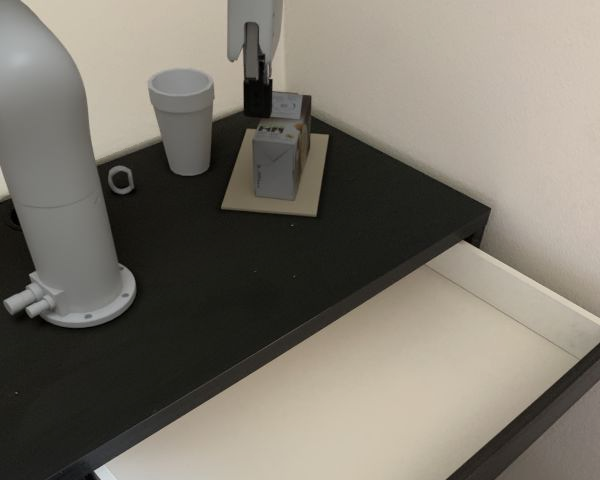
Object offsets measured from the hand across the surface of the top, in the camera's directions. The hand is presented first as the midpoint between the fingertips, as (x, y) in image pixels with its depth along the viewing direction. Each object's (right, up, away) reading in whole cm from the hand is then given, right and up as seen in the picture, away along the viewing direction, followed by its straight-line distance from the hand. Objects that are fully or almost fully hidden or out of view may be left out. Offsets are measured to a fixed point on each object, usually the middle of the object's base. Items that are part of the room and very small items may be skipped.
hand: (257, 114), depth 79 cm
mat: (+2, +2, +26) cm, 26 cm away
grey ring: (-21, -3, +21) cm, 30 cm away
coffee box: (+1, -2, +16) cm, 16 cm away
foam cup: (-12, +3, +26) cm, 29 cm away
